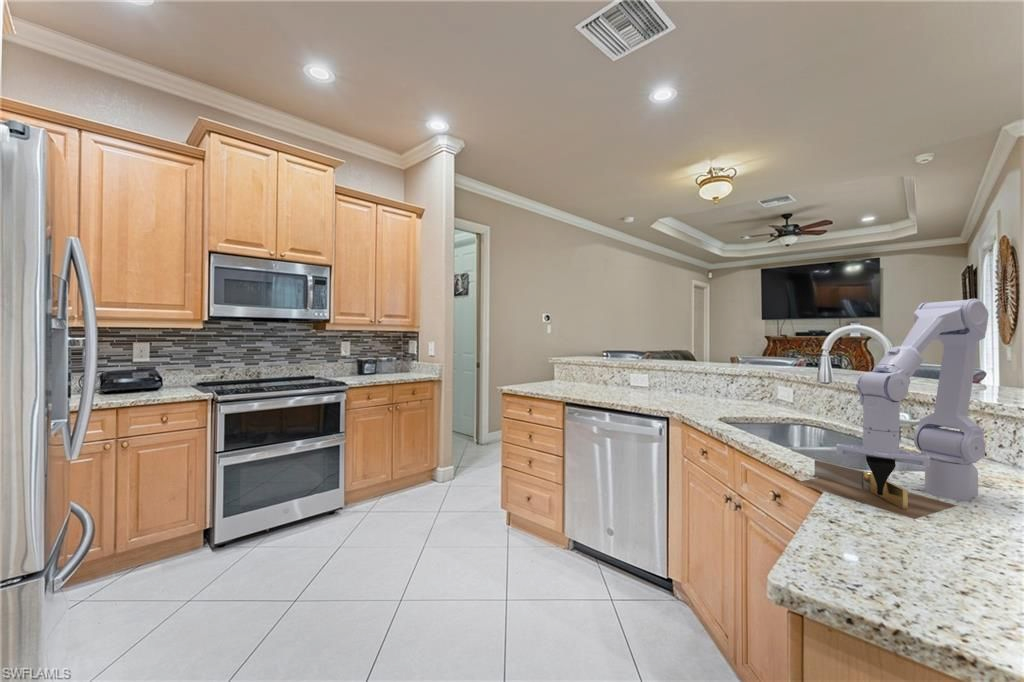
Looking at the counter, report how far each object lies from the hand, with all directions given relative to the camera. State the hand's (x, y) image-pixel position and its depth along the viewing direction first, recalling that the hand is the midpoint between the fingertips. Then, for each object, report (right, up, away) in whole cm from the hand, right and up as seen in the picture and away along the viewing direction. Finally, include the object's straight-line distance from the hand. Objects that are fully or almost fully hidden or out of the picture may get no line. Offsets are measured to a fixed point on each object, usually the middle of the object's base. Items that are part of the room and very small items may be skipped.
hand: (880, 493), depth 87 cm
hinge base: (+2, -3, +5) cm, 6 cm away
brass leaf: (+2, -1, +1) cm, 3 cm away
